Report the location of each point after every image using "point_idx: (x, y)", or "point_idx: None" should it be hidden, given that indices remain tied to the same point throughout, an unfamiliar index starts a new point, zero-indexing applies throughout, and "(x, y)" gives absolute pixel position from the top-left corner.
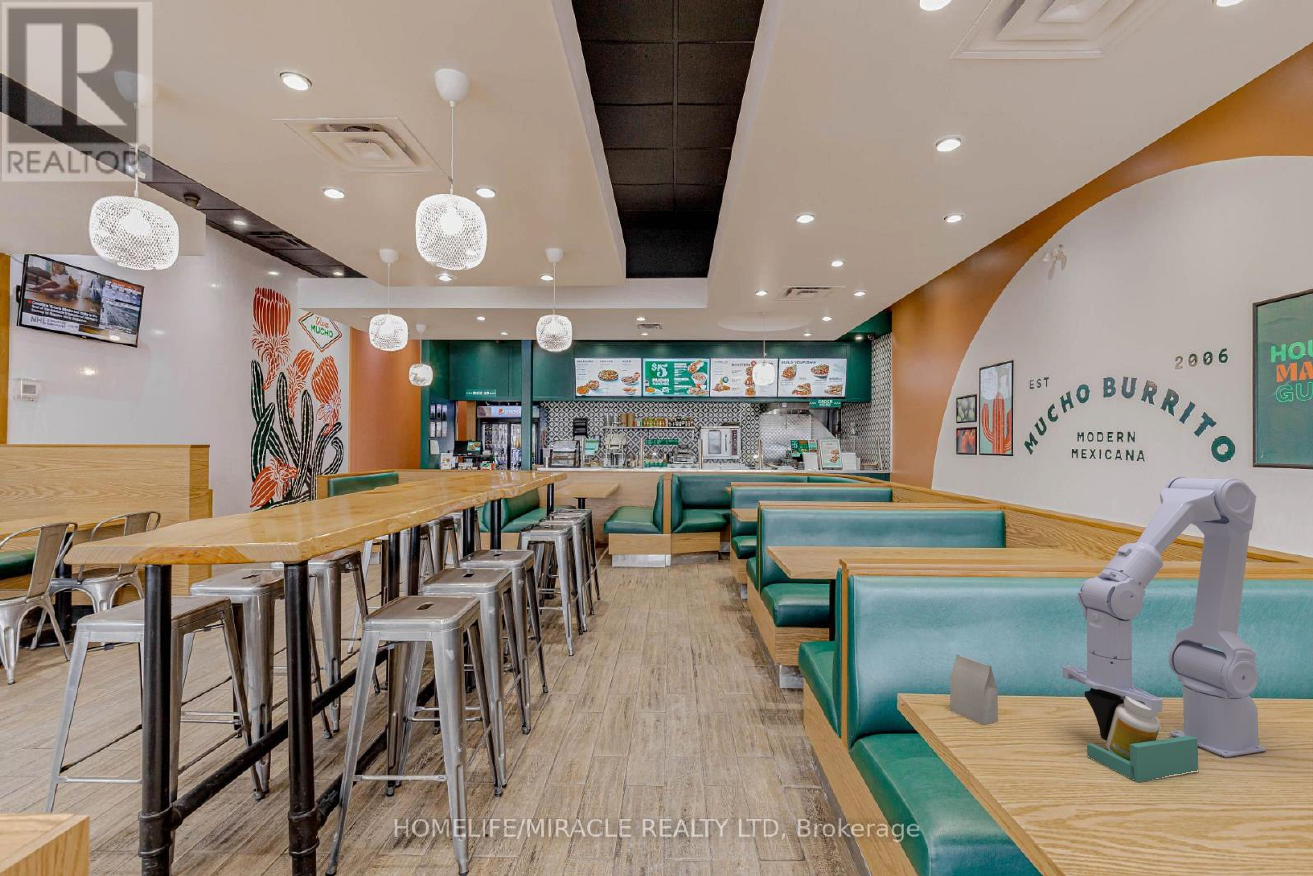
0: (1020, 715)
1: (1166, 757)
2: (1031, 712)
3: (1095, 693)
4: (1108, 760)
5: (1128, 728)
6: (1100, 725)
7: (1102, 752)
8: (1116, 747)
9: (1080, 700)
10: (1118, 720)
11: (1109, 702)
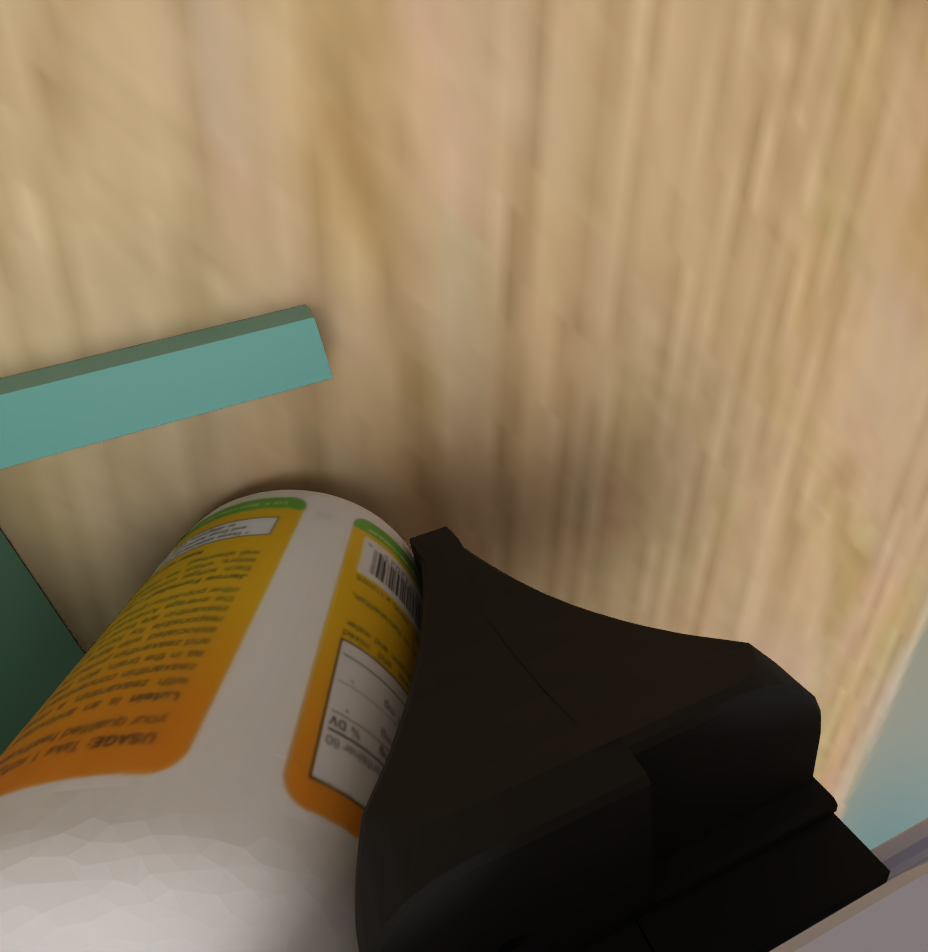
0: (878, 273)
1: None
2: (877, 380)
3: (727, 817)
4: (105, 362)
5: (18, 752)
6: (463, 569)
7: (156, 356)
8: (231, 528)
9: (869, 693)
10: (156, 737)
11: (371, 899)
